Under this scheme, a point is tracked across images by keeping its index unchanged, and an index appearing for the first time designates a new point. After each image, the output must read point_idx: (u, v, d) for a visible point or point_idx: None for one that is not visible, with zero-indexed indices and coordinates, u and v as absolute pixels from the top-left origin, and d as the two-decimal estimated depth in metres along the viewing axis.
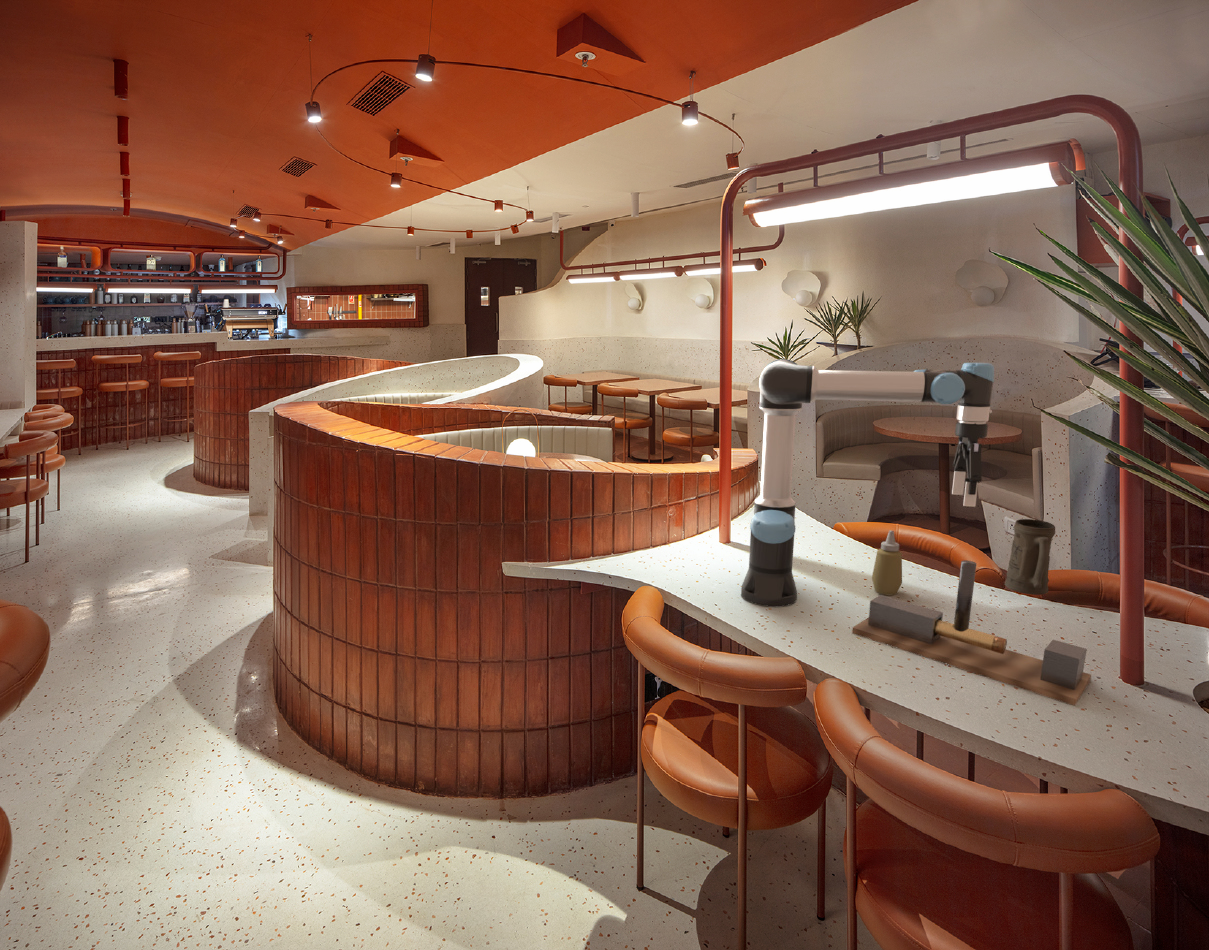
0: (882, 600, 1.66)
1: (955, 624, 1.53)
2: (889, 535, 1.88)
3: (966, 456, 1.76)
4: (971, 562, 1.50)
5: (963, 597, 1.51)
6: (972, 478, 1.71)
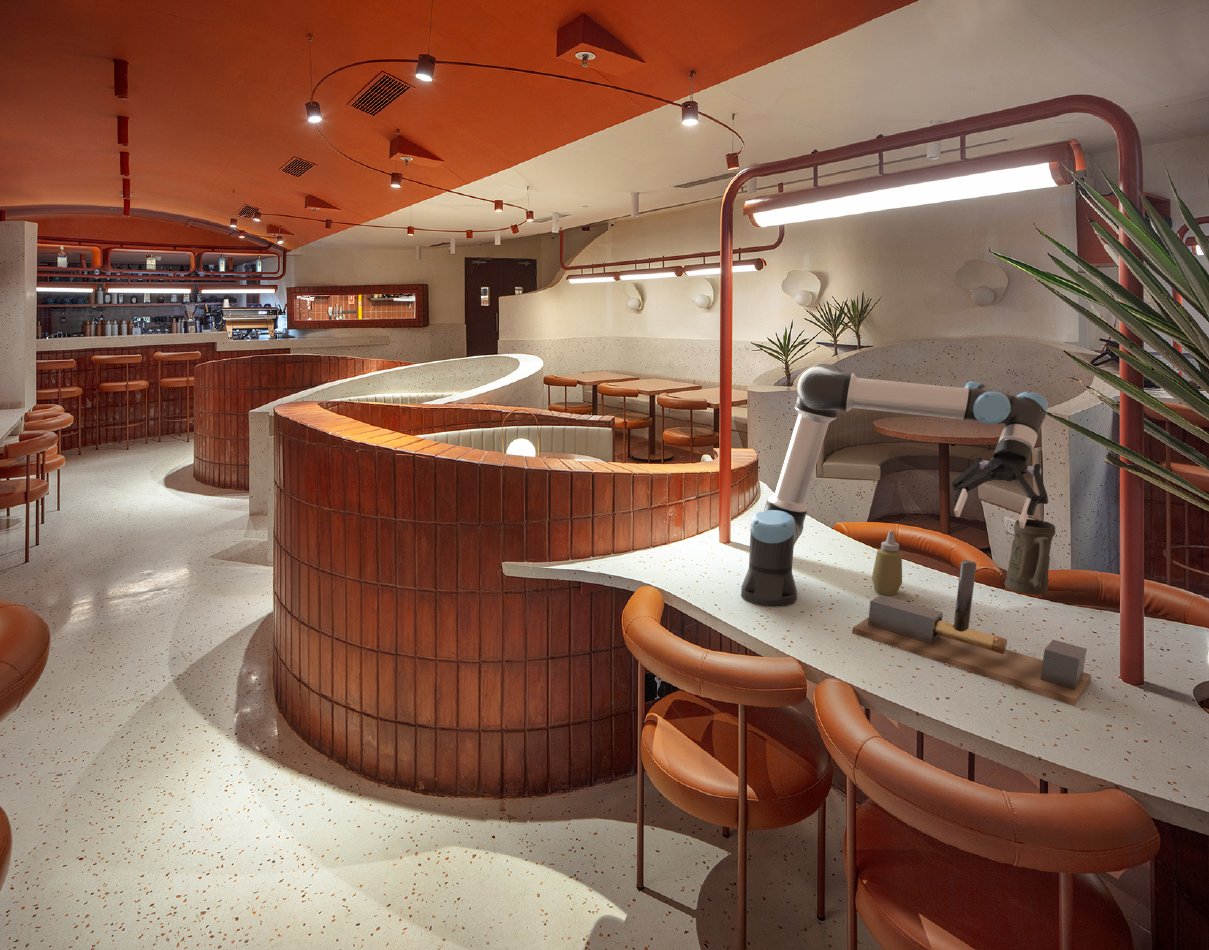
0: (882, 600, 1.66)
1: (955, 624, 1.53)
2: (889, 535, 1.88)
3: (1022, 475, 1.57)
4: (971, 562, 1.50)
5: (963, 597, 1.51)
6: (1047, 496, 1.51)
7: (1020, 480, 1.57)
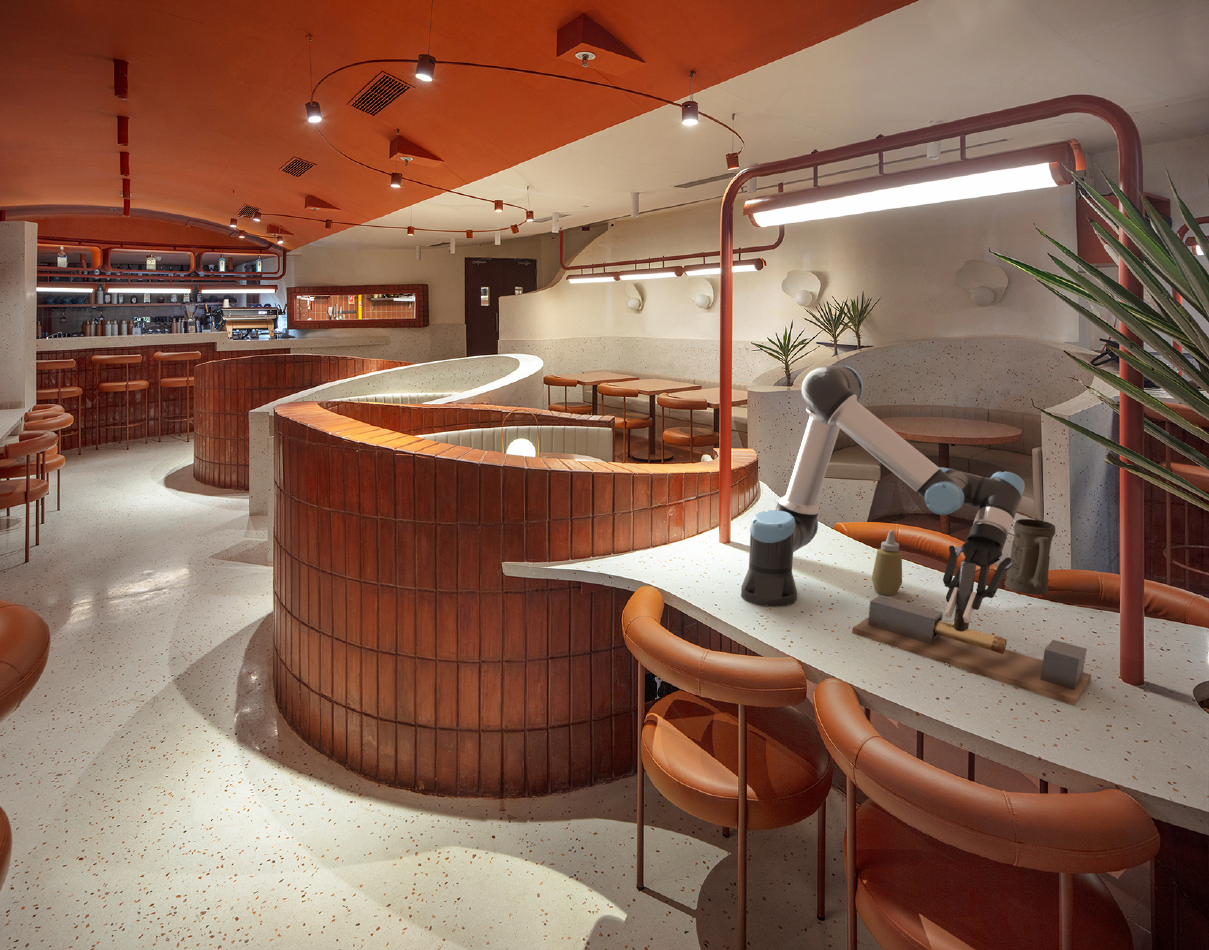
0: (882, 600, 1.66)
1: (955, 624, 1.53)
2: (889, 535, 1.88)
3: (986, 565, 1.52)
4: (971, 562, 1.50)
5: (963, 596, 1.51)
6: (992, 591, 1.49)
7: (981, 569, 1.52)
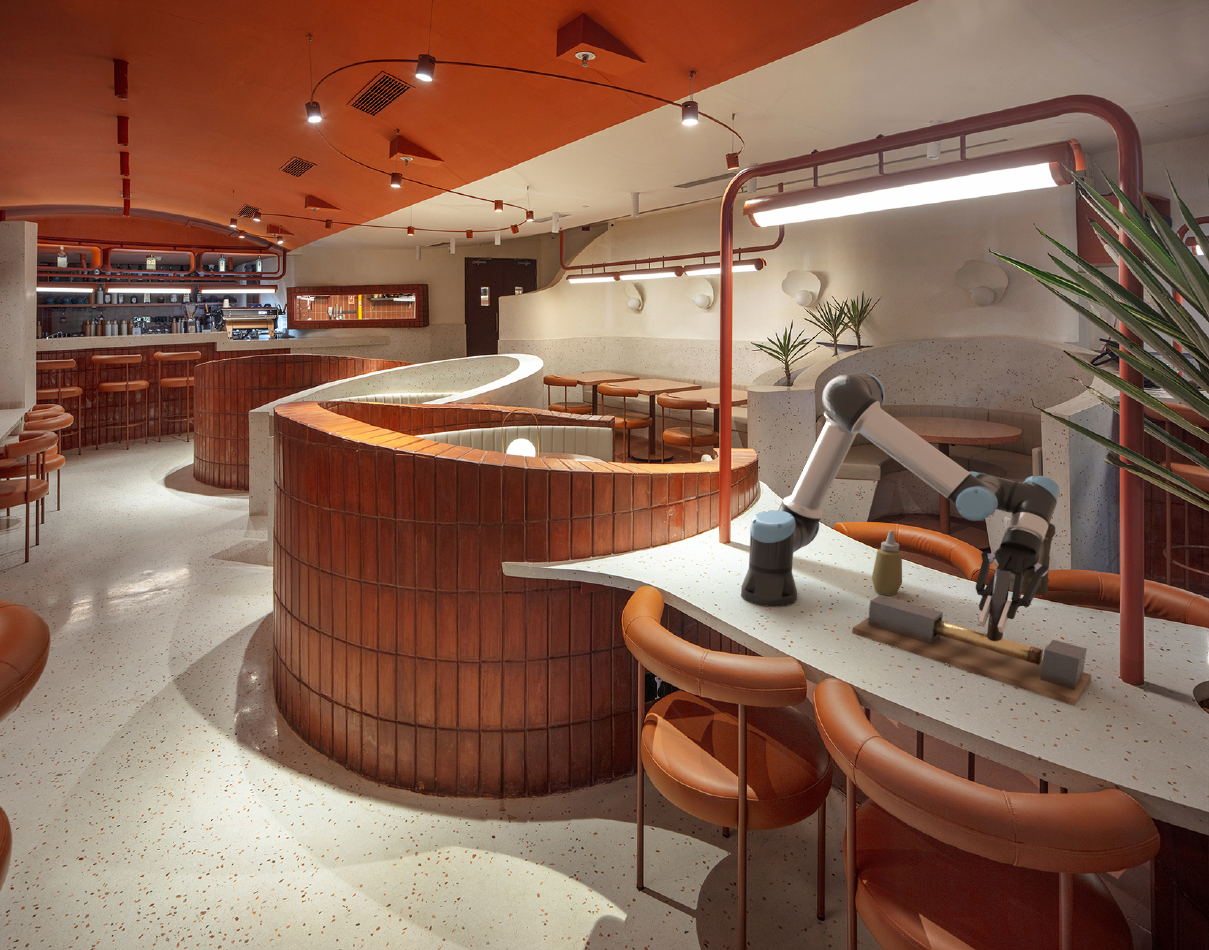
0: (882, 600, 1.66)
1: (988, 633, 1.48)
2: (889, 535, 1.88)
3: (1021, 572, 1.47)
4: (1005, 570, 1.46)
5: (998, 605, 1.46)
6: (1028, 600, 1.44)
7: (1016, 577, 1.48)
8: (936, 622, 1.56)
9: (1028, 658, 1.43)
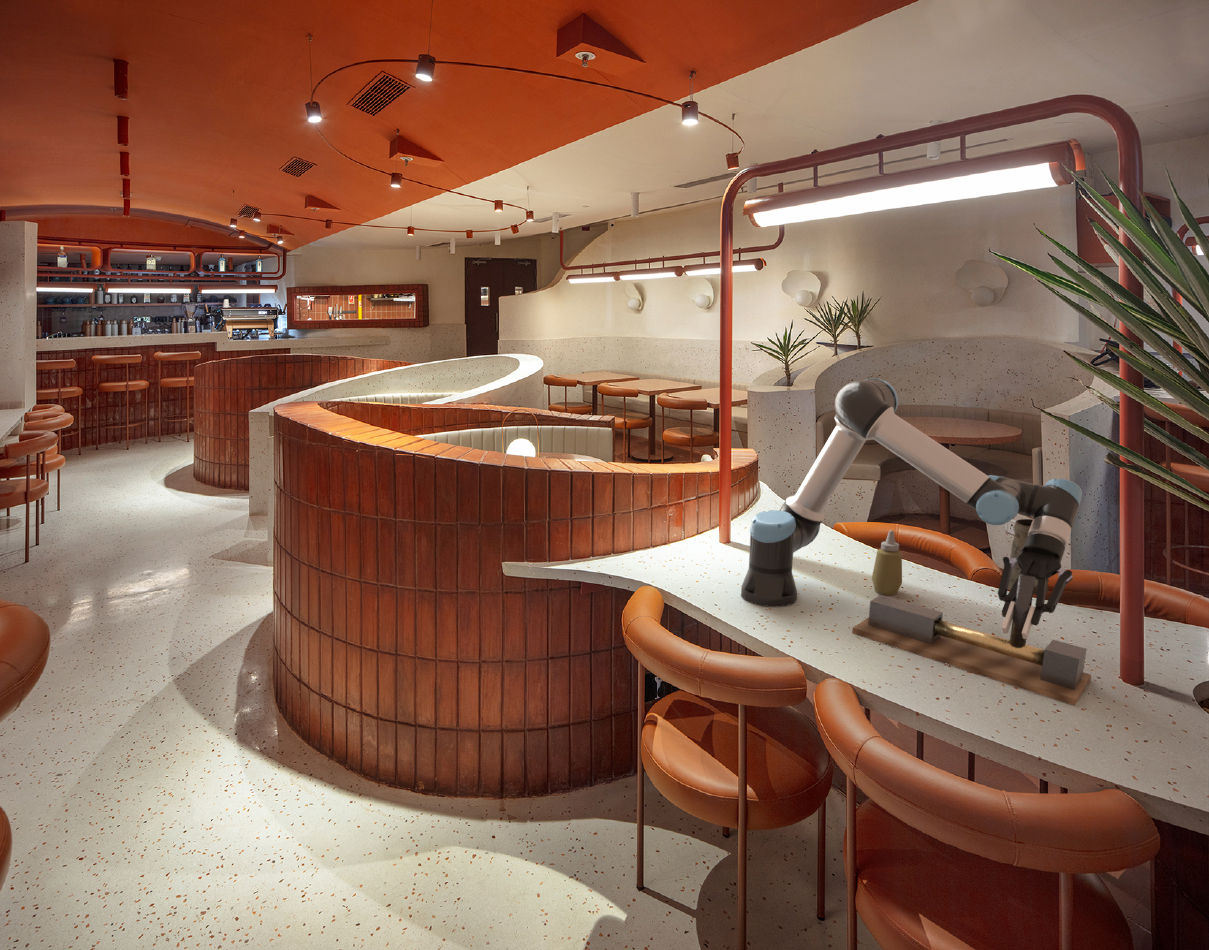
0: (882, 600, 1.66)
1: (1011, 640, 1.45)
2: (889, 535, 1.88)
3: (1045, 578, 1.44)
4: (1029, 575, 1.42)
5: (1021, 611, 1.43)
6: (1053, 606, 1.41)
7: (1039, 582, 1.44)
8: (957, 628, 1.53)
9: None
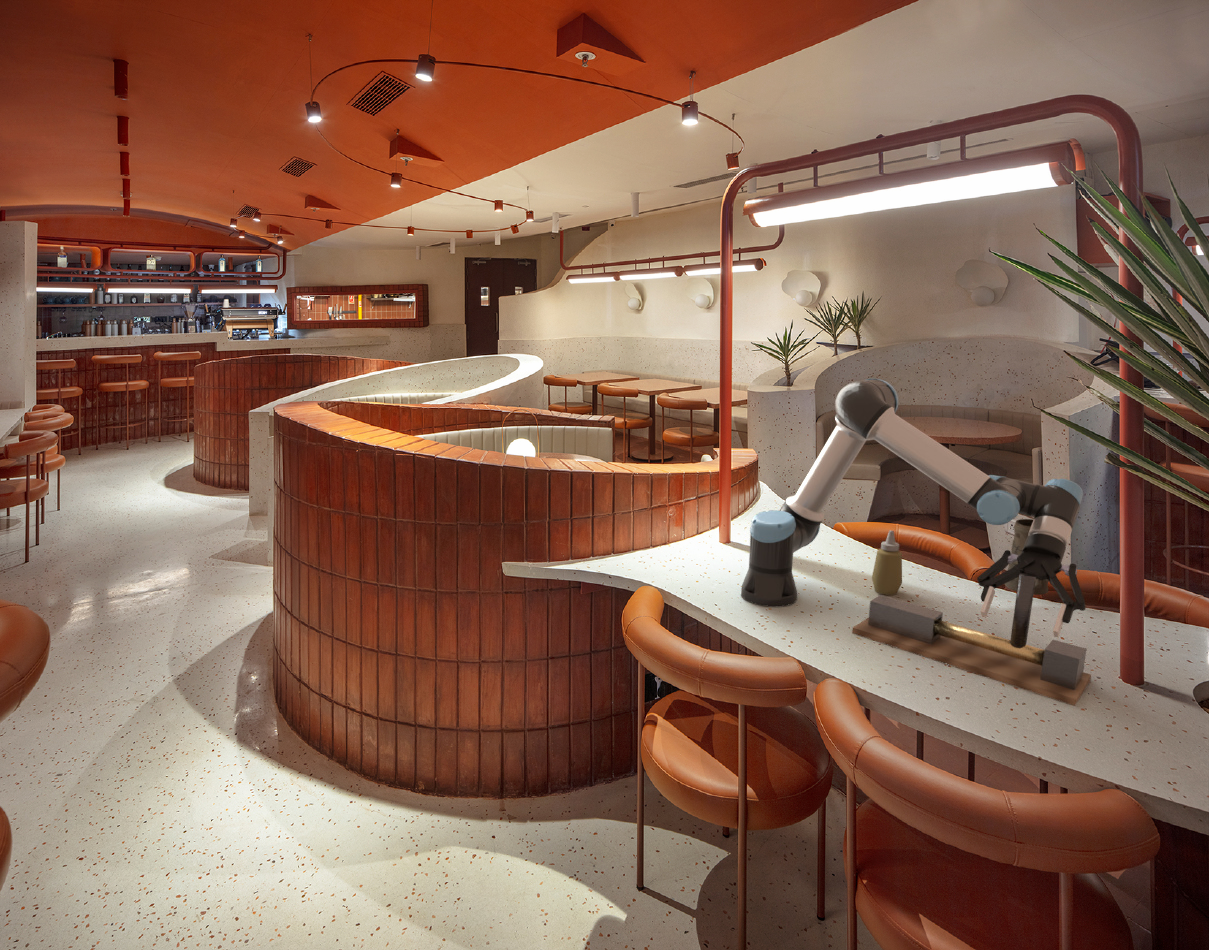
0: (882, 600, 1.66)
1: (1012, 640, 1.45)
2: (889, 535, 1.88)
3: (1055, 575, 1.43)
4: (1030, 575, 1.42)
5: (1022, 612, 1.43)
6: (1084, 603, 1.38)
7: (1054, 581, 1.43)
8: (957, 628, 1.53)
9: None
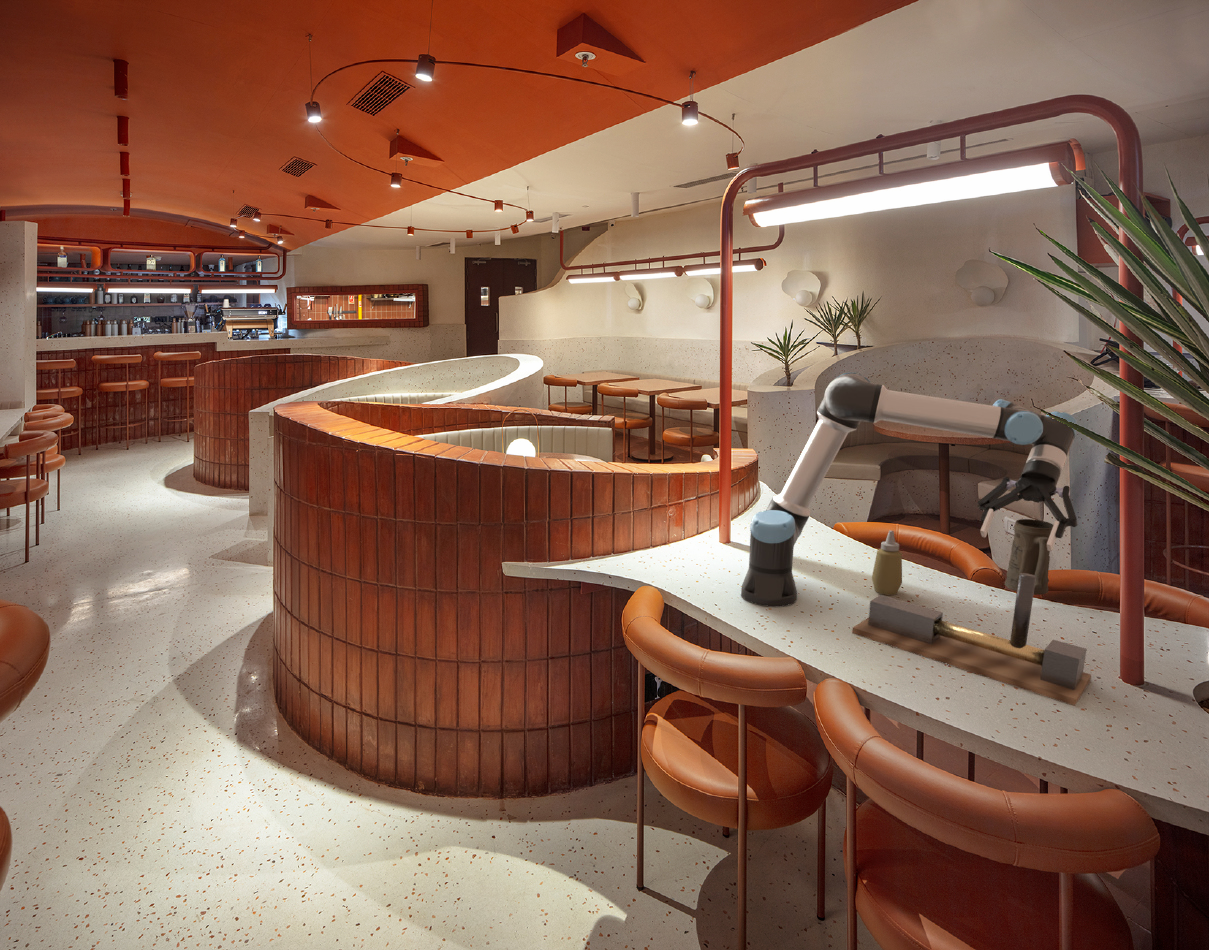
0: (882, 600, 1.66)
1: (1012, 640, 1.45)
2: (889, 535, 1.88)
3: (1050, 496, 1.56)
4: (1030, 575, 1.42)
5: (1022, 612, 1.43)
6: (1076, 519, 1.50)
7: (1048, 502, 1.55)
8: (957, 628, 1.53)
9: None
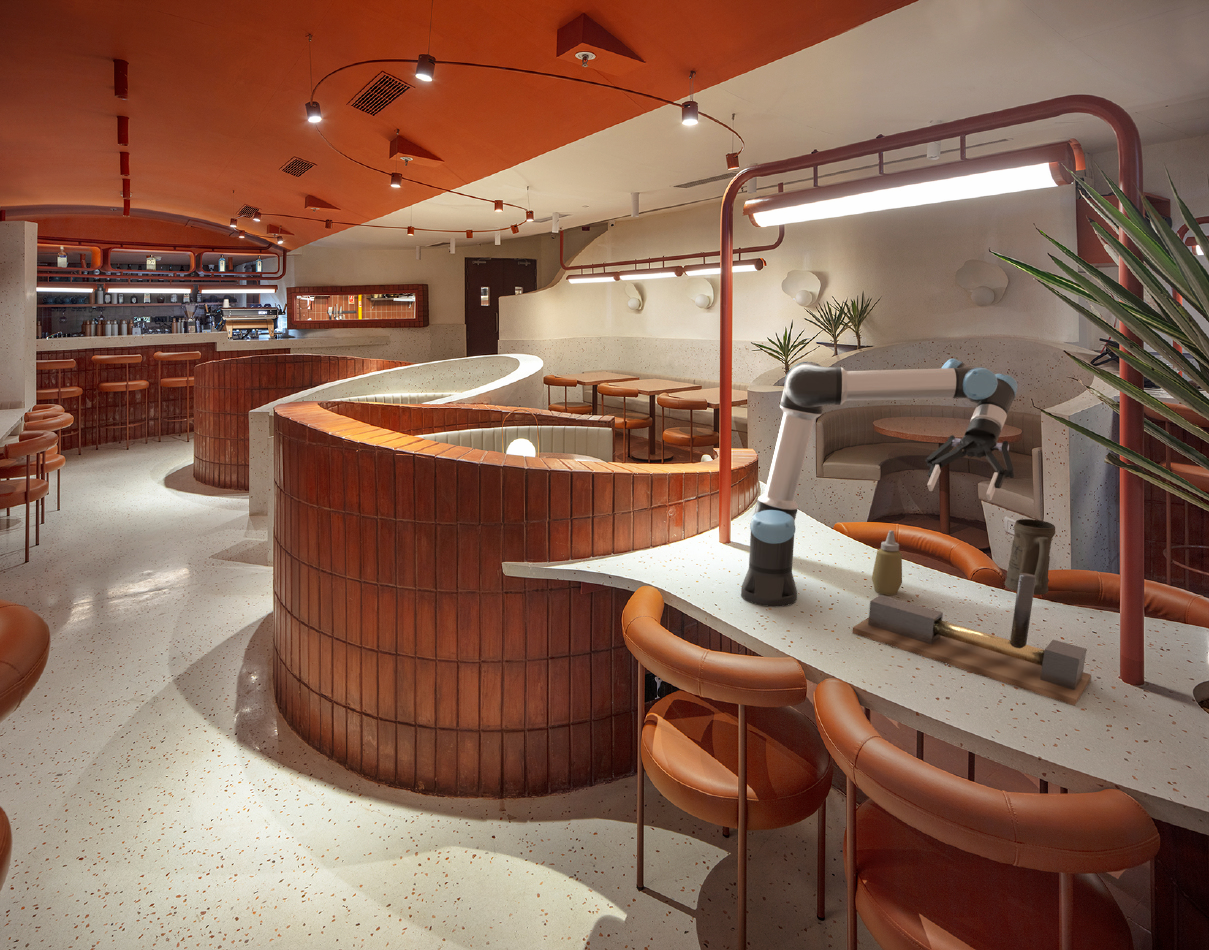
0: (882, 600, 1.66)
1: (1012, 640, 1.45)
2: (889, 535, 1.88)
3: (990, 451, 1.67)
4: (1030, 575, 1.42)
5: (1022, 612, 1.43)
6: (1013, 470, 1.61)
7: (989, 456, 1.66)
8: (957, 628, 1.53)
9: None
